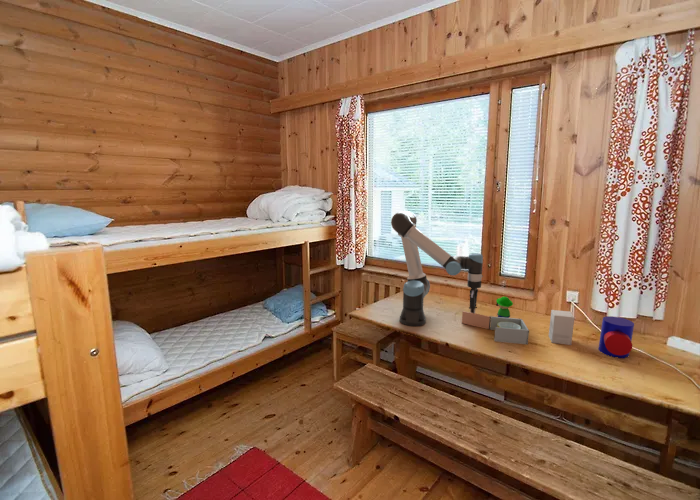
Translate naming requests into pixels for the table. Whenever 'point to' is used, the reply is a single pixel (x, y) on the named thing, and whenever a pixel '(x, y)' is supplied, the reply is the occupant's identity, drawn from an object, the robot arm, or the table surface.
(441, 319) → the table surface
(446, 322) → the table surface
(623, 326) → the cylinder
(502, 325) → the bowl
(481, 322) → the door
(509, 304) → the toy
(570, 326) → the supplement box
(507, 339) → the box
